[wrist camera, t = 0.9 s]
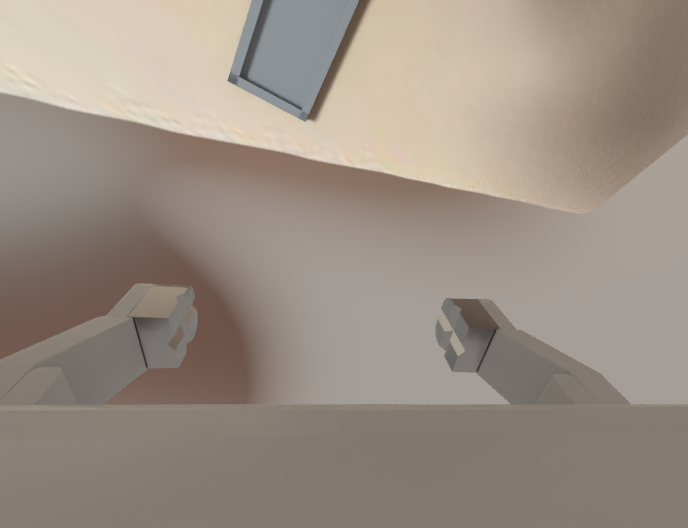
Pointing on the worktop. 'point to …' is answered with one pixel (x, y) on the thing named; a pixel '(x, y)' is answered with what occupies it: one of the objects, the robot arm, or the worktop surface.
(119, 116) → the worktop surface
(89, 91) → the worktop surface
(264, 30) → the tray
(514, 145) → the worktop surface
